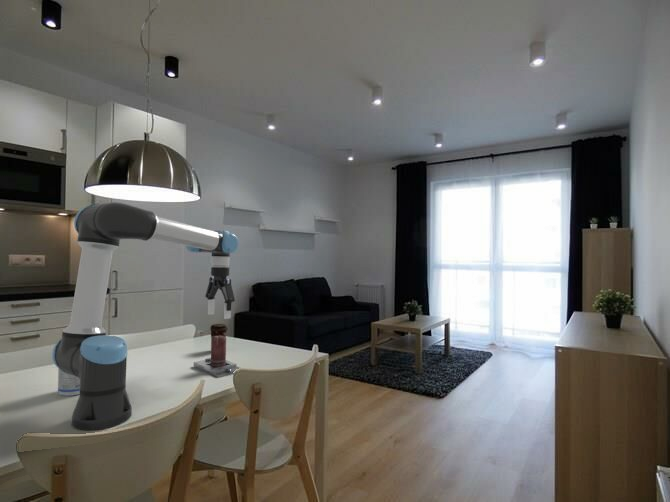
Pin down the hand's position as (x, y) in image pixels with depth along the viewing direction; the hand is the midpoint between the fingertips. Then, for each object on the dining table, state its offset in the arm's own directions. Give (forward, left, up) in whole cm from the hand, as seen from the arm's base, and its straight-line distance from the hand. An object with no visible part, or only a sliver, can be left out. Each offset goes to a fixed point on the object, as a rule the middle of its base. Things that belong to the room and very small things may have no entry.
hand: (219, 316), depth 167 cm
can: (0, -1, -22) cm, 22 cm away
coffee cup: (+16, +27, -22) cm, 38 cm away
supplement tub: (-50, +8, -22) cm, 56 cm away
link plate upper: (0, +2, -22) cm, 22 cm away
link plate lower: (0, -4, -22) cm, 22 cm away
